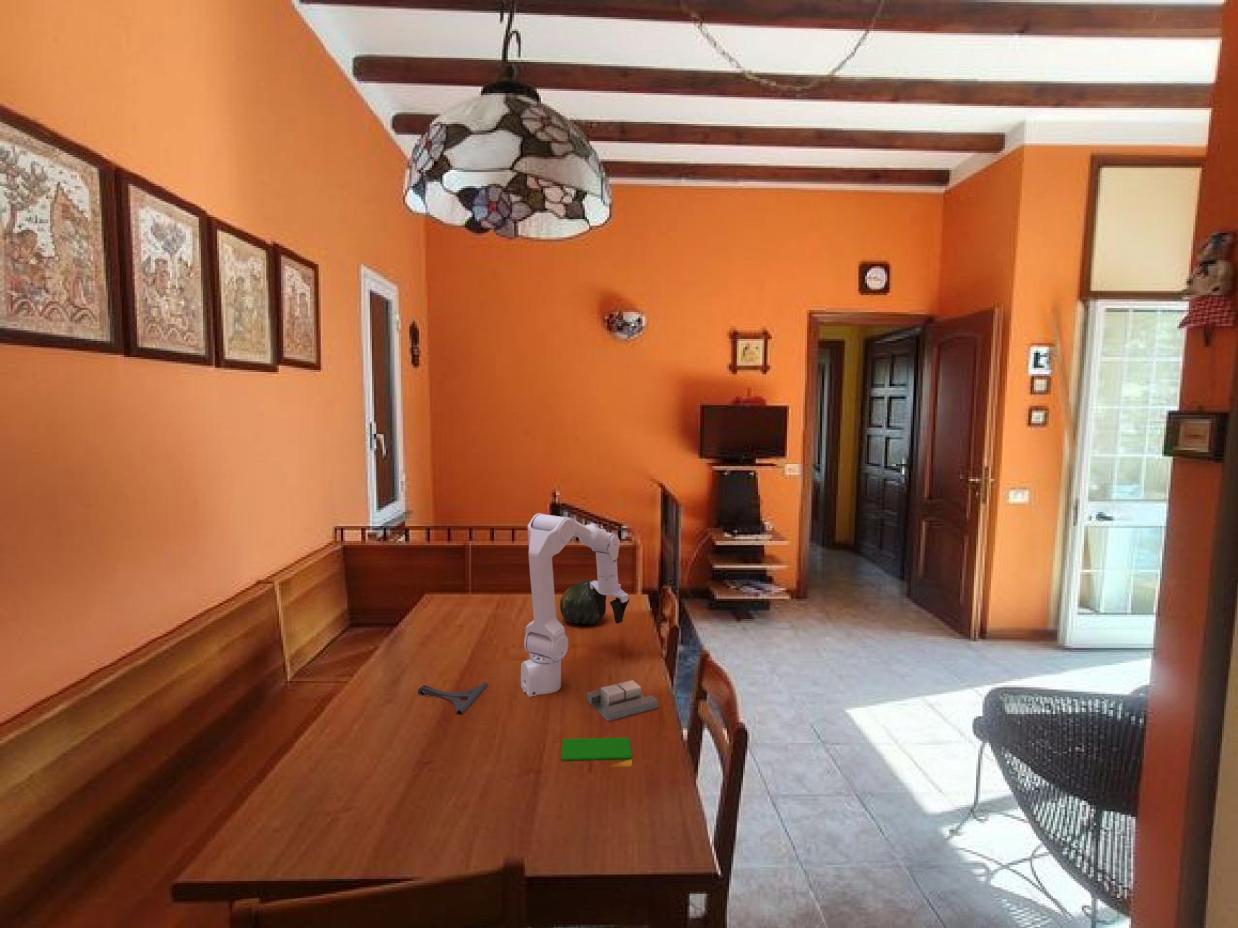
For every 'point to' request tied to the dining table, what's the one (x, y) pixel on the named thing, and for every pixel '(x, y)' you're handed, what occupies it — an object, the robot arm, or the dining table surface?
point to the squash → (579, 604)
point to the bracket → (456, 696)
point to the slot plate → (621, 705)
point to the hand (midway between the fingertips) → (610, 618)
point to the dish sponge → (598, 750)
